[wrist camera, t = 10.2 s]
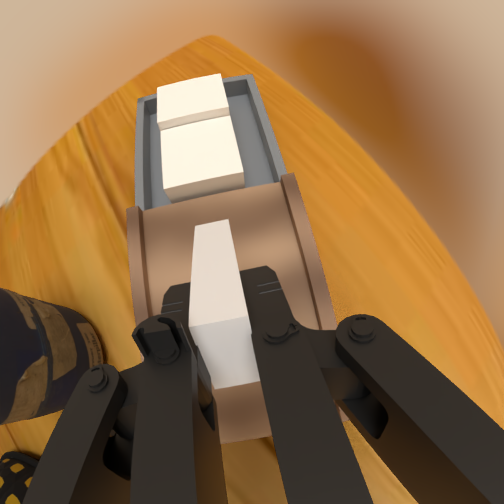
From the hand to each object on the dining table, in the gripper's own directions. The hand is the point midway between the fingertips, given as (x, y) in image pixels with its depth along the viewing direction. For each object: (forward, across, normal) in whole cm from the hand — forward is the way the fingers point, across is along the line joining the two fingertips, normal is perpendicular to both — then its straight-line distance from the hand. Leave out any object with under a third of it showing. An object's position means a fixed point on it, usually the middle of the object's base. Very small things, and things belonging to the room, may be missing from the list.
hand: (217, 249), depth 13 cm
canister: (+5, -17, -11) cm, 21 cm away
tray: (+18, 0, +2) cm, 18 cm away
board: (+6, 0, -9) cm, 11 cm away
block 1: (+15, 0, +4) cm, 15 cm away
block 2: (+15, 0, 0) cm, 15 cm away
